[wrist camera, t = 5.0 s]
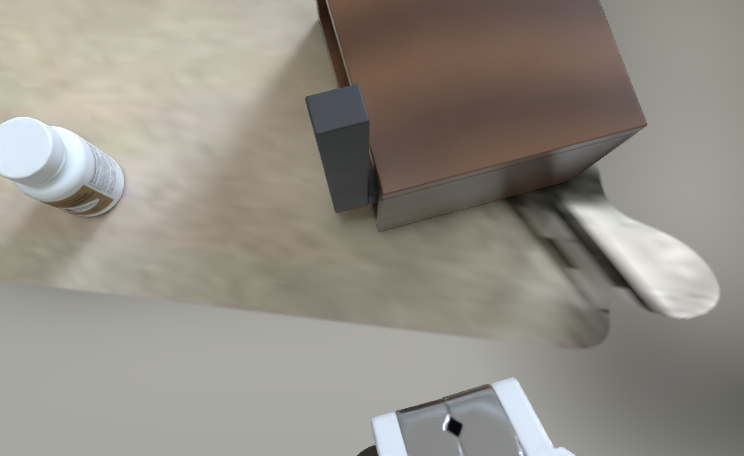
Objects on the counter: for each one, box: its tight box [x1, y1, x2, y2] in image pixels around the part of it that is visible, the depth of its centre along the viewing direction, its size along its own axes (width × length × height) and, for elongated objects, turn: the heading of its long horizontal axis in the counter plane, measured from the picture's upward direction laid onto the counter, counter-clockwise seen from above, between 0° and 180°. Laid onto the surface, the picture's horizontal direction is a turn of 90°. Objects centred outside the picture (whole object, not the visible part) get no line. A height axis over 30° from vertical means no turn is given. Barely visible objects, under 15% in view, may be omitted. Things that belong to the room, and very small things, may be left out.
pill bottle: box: [0, 117, 124, 217], centre depth 32 cm, size 4×4×8 cm
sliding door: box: [305, 84, 380, 213], centre depth 27 cm, size 7×4×16 cm, turn 15°
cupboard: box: [316, 0, 647, 232], centre depth 32 cm, size 16×14×10 cm
